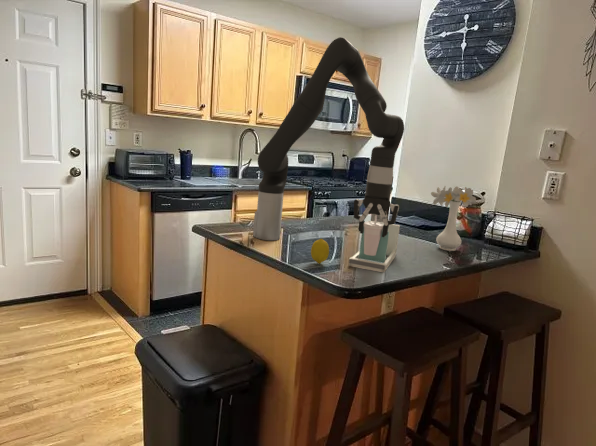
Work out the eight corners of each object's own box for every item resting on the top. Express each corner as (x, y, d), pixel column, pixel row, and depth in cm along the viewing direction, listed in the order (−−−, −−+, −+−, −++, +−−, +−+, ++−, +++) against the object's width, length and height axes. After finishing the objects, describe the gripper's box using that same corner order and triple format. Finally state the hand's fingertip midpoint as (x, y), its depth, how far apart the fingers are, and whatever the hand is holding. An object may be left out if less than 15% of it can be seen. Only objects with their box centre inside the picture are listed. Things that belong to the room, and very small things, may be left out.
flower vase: (435, 241, 180) (444, 182, 175) (475, 253, 165) (487, 189, 161) (415, 244, 172) (425, 182, 167) (456, 256, 158) (468, 189, 153)
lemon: (322, 267, 128) (324, 241, 127) (306, 263, 131) (308, 238, 129) (330, 264, 133) (333, 239, 131) (315, 260, 136) (317, 235, 134)
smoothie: (367, 257, 130) (373, 212, 127) (355, 251, 136) (361, 208, 133) (384, 256, 133) (390, 212, 130) (371, 250, 139) (377, 208, 136)
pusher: (358, 258, 139) (362, 228, 137) (359, 257, 140) (363, 227, 138) (384, 262, 136) (388, 232, 134) (385, 262, 137) (389, 231, 135)
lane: (348, 266, 132) (352, 231, 130) (364, 250, 154) (368, 220, 152) (383, 272, 129) (388, 237, 126) (395, 256, 150) (399, 225, 148)
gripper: (405, 183, 131) (397, 236, 134) (359, 178, 136) (352, 229, 139) (401, 185, 124) (393, 241, 127) (353, 179, 129) (346, 233, 132)
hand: (372, 234), depth 133 cm, fingers closed on smoothie, 6 cm apart
